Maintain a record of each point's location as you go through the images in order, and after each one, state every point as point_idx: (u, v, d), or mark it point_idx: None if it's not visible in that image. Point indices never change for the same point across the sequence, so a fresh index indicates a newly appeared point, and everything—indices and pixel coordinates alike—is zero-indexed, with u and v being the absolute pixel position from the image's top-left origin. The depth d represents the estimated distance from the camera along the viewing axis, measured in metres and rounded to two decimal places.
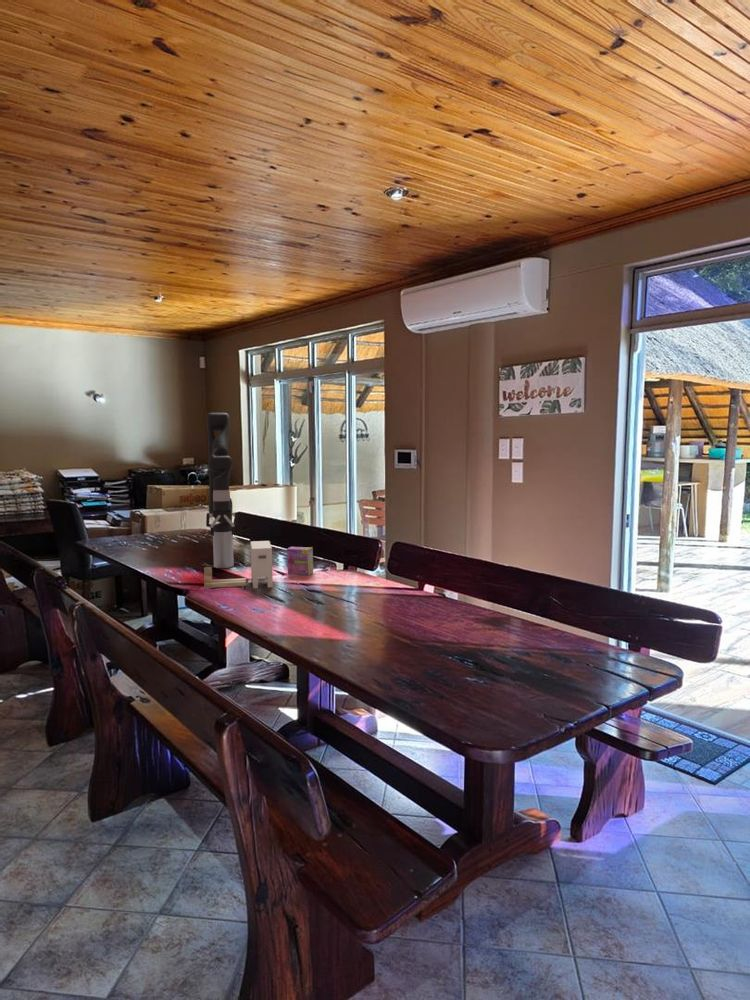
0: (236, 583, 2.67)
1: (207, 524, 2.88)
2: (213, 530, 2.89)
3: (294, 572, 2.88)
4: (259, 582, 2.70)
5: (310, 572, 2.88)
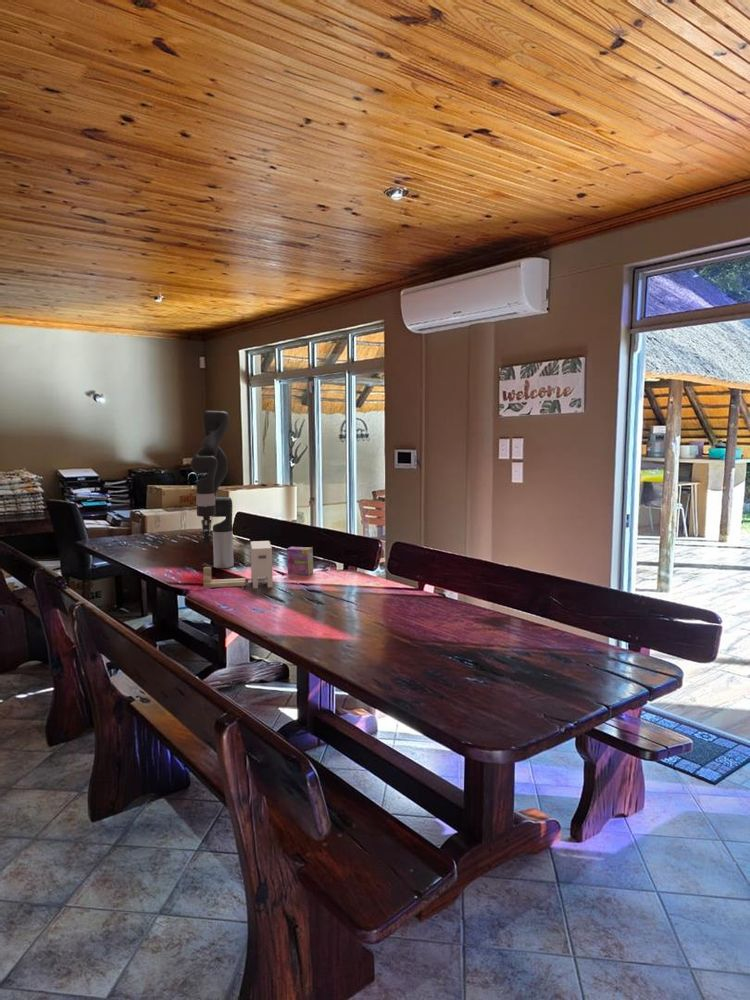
0: (235, 583, 2.67)
1: (209, 532, 2.59)
2: (209, 538, 2.62)
3: (294, 572, 2.88)
4: (259, 582, 2.70)
5: (310, 572, 2.88)
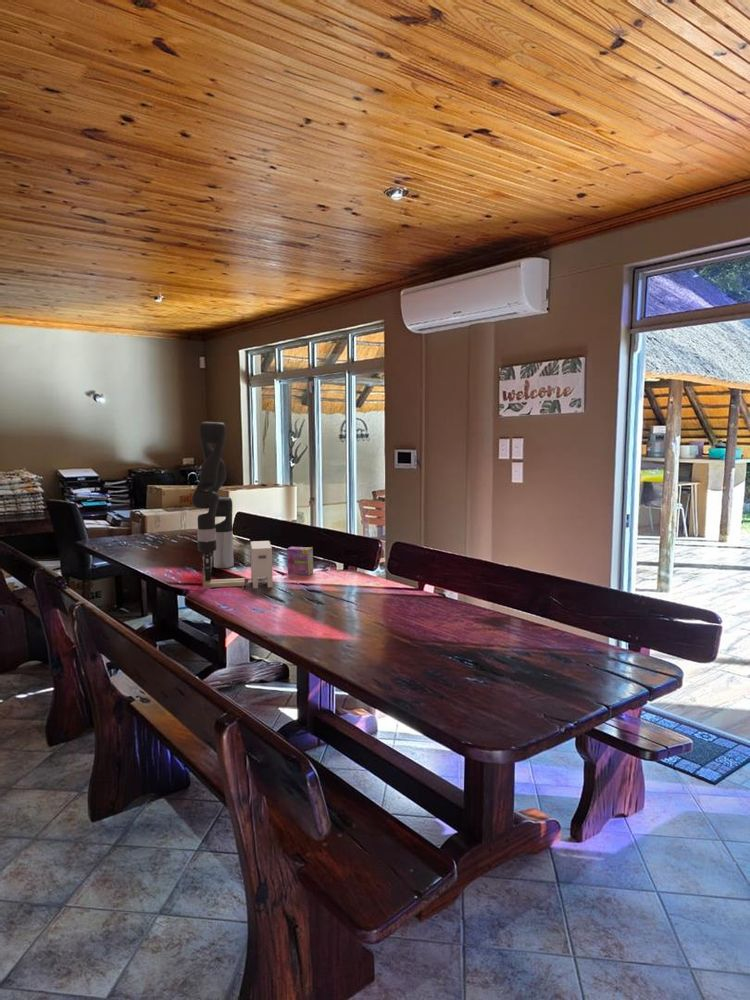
0: (234, 583, 2.67)
1: (210, 569, 2.62)
2: (210, 574, 2.65)
3: (294, 572, 2.88)
4: (259, 582, 2.70)
5: (310, 572, 2.88)
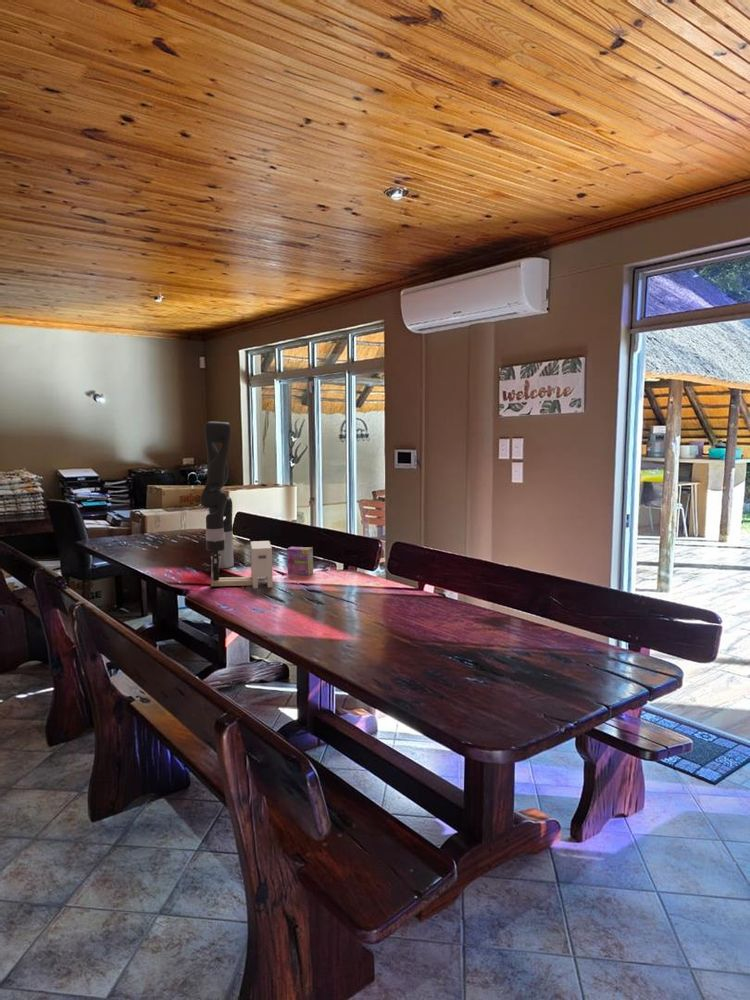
0: (243, 581, 2.67)
1: (218, 568, 2.64)
2: (218, 574, 2.66)
3: (294, 572, 2.88)
4: (259, 582, 2.70)
5: (310, 572, 2.88)
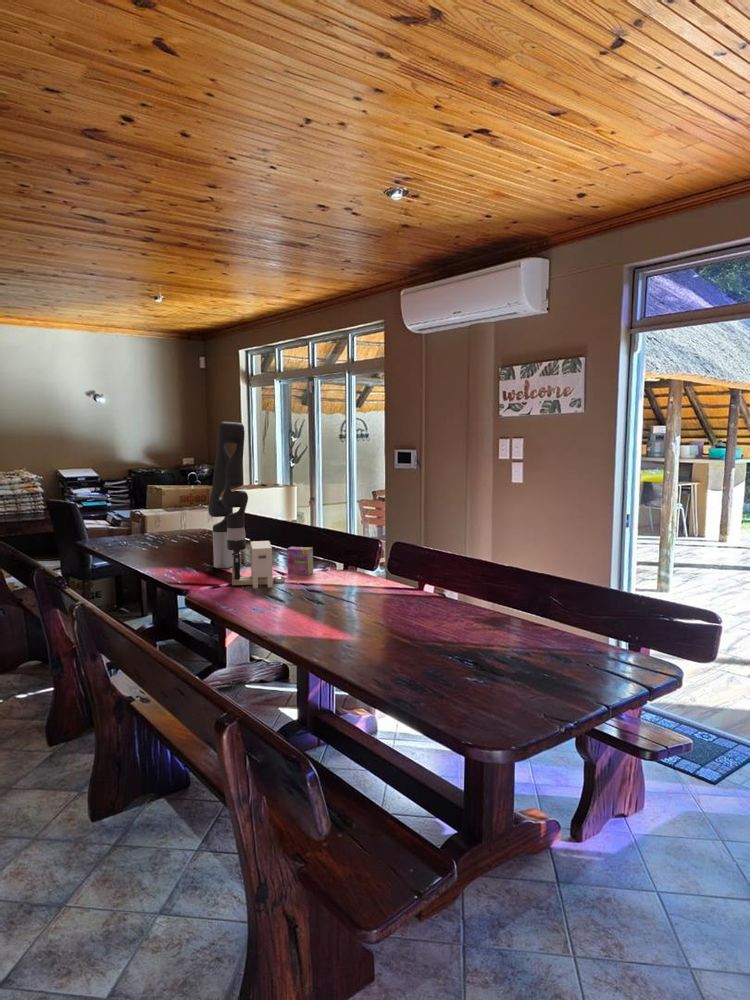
0: (263, 580, 2.69)
1: None
2: (239, 573, 2.68)
3: (294, 572, 2.88)
4: (276, 581, 2.72)
5: (310, 572, 2.88)
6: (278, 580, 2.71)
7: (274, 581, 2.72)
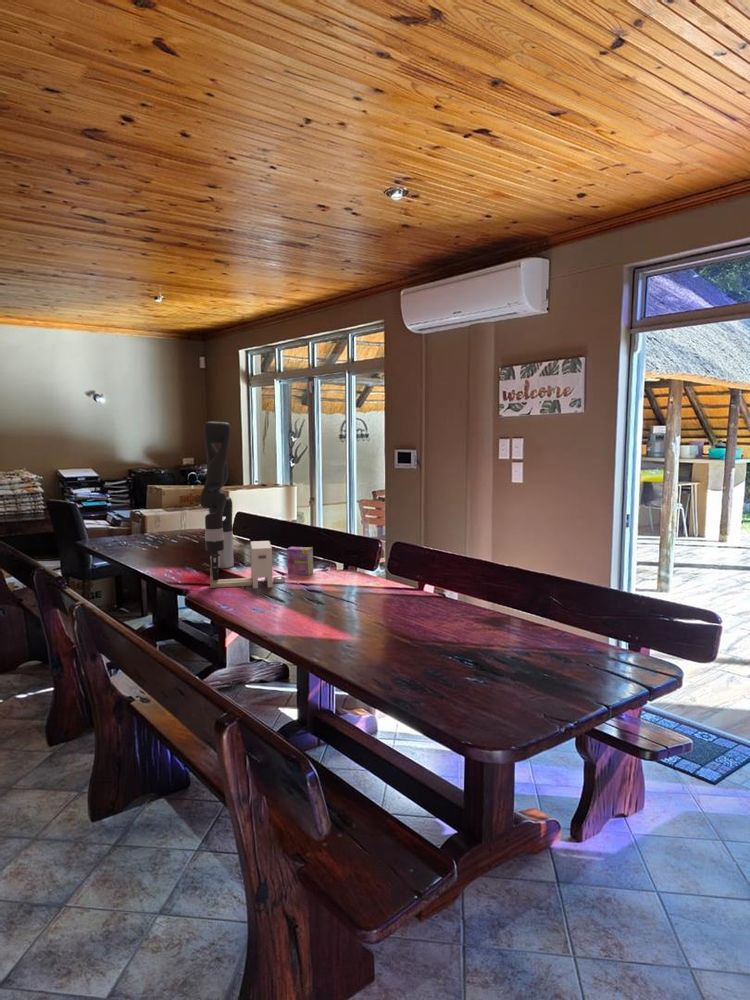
0: (242, 583, 2.67)
1: None
2: None
3: (294, 572, 2.88)
4: (276, 581, 2.72)
5: (310, 572, 2.88)
6: (278, 580, 2.71)
7: (274, 581, 2.72)
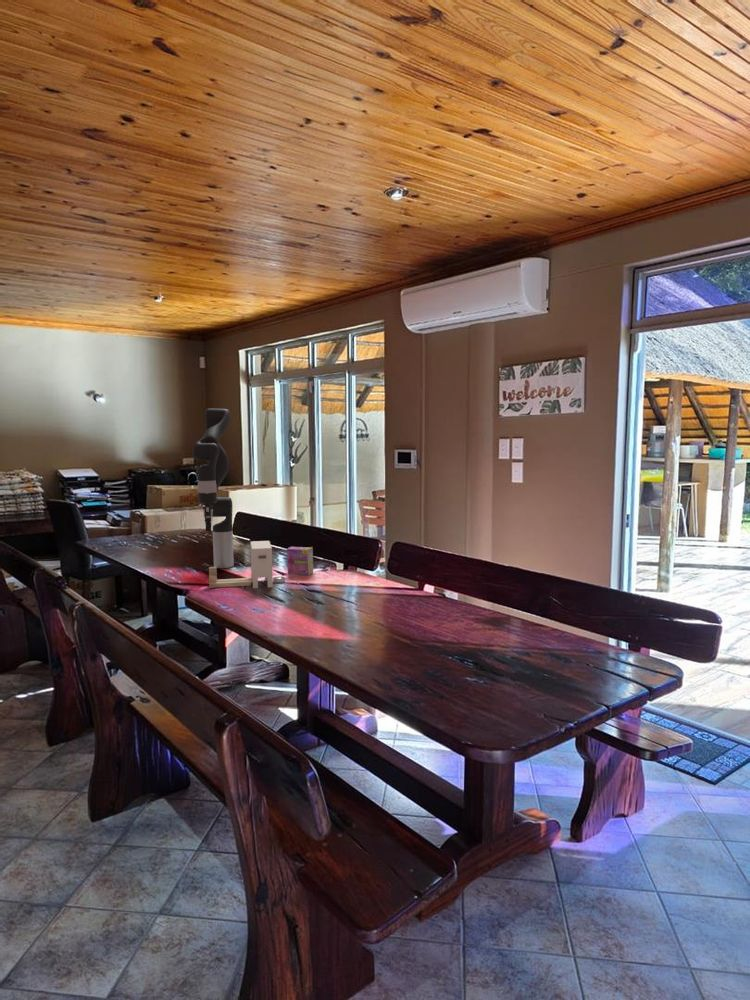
0: (241, 583, 2.67)
1: None
2: (210, 525, 2.64)
3: (294, 572, 2.88)
4: (276, 581, 2.72)
5: (310, 572, 2.88)
6: (278, 580, 2.71)
7: (274, 581, 2.72)
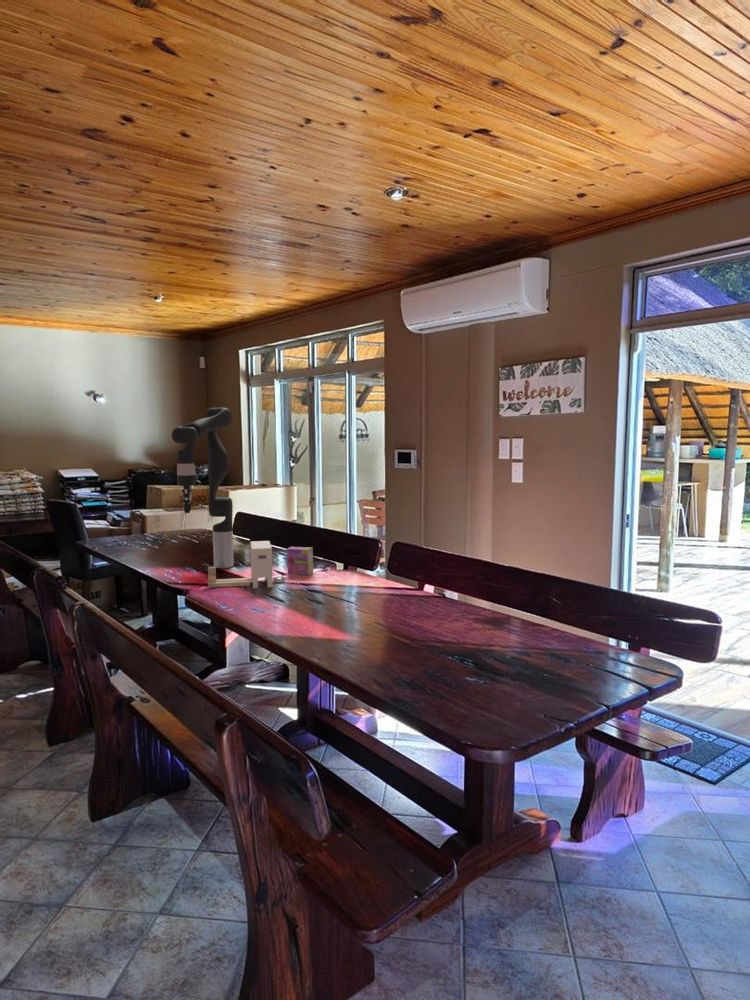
0: (240, 583, 2.67)
1: (189, 500, 2.67)
2: (189, 506, 2.70)
3: (294, 572, 2.88)
4: (276, 581, 2.72)
5: (310, 572, 2.88)
6: (278, 580, 2.71)
7: (274, 581, 2.72)
